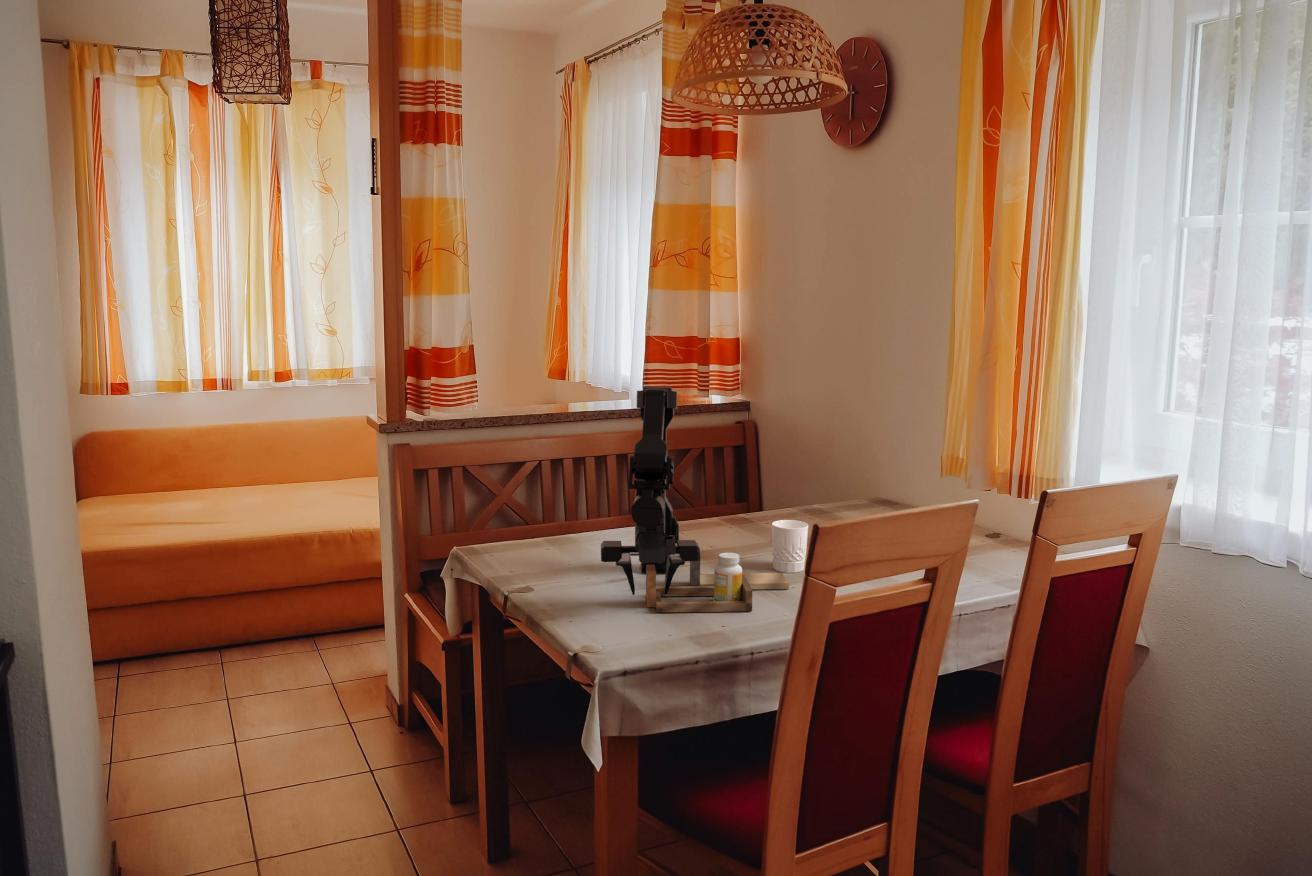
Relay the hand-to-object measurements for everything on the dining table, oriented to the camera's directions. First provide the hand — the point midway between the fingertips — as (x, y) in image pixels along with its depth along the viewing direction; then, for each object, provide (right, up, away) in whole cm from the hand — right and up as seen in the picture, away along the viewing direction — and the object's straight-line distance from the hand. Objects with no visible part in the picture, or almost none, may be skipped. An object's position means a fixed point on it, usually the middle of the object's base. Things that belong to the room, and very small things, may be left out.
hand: (649, 594), depth 188 cm
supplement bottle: (+15, -2, +1) cm, 15 cm away
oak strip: (+19, 0, +13) cm, 23 cm away
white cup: (+30, +1, +25) cm, 39 cm away
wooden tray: (+10, -2, +1) cm, 10 cm away
